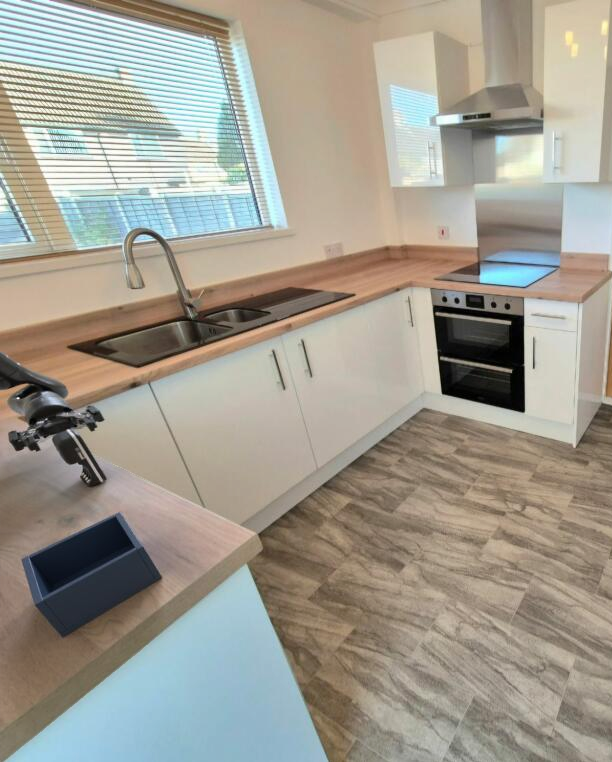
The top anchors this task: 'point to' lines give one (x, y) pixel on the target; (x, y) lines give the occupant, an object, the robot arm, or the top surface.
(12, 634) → the top surface
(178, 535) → the top surface
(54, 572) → the bin
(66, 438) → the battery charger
